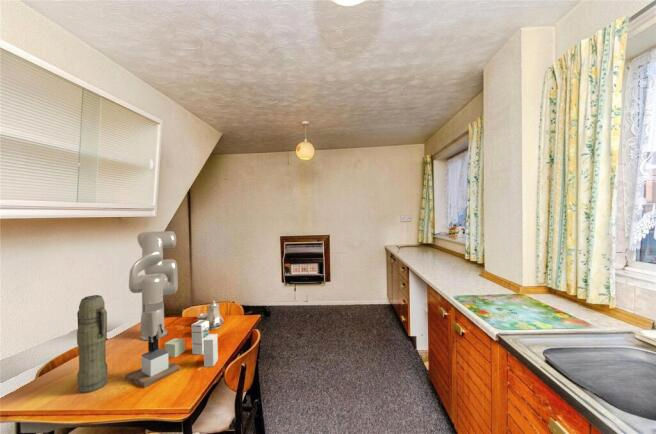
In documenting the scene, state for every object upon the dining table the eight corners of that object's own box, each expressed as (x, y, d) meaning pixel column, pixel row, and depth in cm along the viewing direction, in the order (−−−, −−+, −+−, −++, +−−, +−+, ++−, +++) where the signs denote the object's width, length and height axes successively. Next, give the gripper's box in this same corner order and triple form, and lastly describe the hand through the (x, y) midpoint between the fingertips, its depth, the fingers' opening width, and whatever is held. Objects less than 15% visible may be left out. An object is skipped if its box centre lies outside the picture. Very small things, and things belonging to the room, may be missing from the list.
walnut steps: (125, 377, 112) (125, 373, 112) (160, 362, 124) (160, 357, 124) (144, 387, 105) (144, 382, 105) (179, 370, 117) (179, 365, 117)
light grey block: (150, 359, 109) (150, 376, 109) (168, 351, 115) (168, 368, 115) (141, 354, 112) (141, 371, 112) (159, 347, 119) (159, 363, 119)
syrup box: (202, 355, 130) (202, 324, 130) (191, 354, 131) (191, 323, 131) (210, 349, 136) (209, 320, 136) (199, 348, 137) (199, 319, 137)
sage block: (164, 356, 130) (164, 343, 130) (174, 350, 136) (174, 338, 136) (175, 357, 129) (174, 344, 129) (184, 351, 134) (184, 339, 135)
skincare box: (208, 360, 125) (208, 334, 125) (218, 359, 125) (217, 333, 126) (203, 367, 119) (203, 339, 119) (213, 366, 119) (213, 339, 120)
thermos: (88, 379, 111) (87, 293, 112) (116, 379, 111) (115, 293, 111) (67, 393, 103) (66, 300, 103) (97, 393, 102) (96, 299, 102)
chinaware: (195, 324, 174) (192, 299, 173) (223, 317, 180) (220, 293, 180) (193, 342, 148) (189, 312, 148) (225, 333, 155) (221, 304, 154)
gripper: (133, 306, 115) (134, 350, 115) (153, 311, 108) (153, 358, 108) (152, 301, 122) (152, 343, 121) (172, 306, 114) (172, 350, 114)
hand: (153, 350), depth 114 cm, fingers closed
